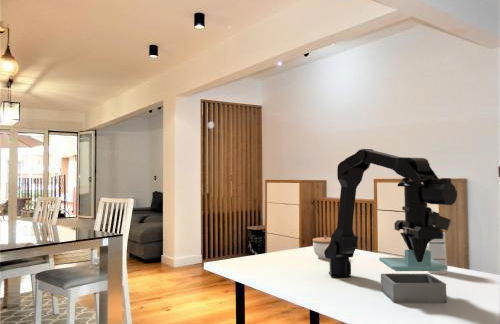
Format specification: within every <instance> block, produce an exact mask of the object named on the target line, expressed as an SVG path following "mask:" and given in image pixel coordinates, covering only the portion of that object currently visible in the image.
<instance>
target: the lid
mask: <svg viewBox="0 0 500 324" xmlns="http://www.w3.org/2000/svg"><path fill="white" fill-rule="evenodd" d="M379 261H380V262H381V263H382V264H384V265H385V266H386V267H388V268H389V269H391V270H393V271H395V272H428V271H440V269H447V270H448V265H447V266H446V265H444V264H442V263H440V262H437V261H435V260H433V259H431V251H429V250H425V253H424V257H423V260H422V262H418V261H417V259H416V256H415V254H414V251H413V250H409V249H404V257H379Z"/></svg>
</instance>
